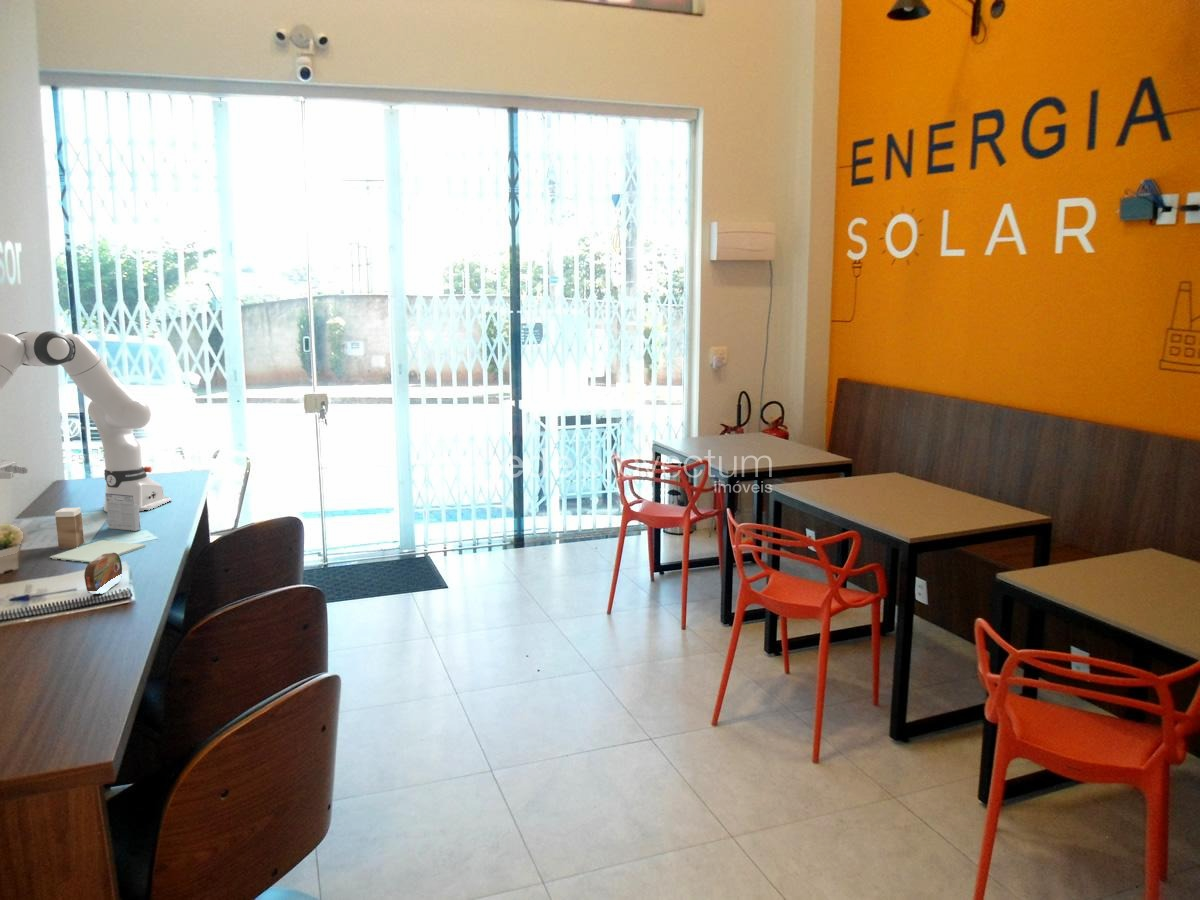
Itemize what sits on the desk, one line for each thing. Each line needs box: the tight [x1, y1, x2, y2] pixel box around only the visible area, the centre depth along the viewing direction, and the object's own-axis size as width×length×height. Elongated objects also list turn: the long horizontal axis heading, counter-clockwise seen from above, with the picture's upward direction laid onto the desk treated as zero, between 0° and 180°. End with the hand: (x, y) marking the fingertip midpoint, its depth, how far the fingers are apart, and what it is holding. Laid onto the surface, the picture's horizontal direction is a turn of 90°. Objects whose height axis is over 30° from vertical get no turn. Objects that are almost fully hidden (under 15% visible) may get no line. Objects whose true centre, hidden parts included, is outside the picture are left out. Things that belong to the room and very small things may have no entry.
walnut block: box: [54, 507, 85, 549], centre depth 263 cm, size 5×5×11 cm
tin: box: [83, 553, 123, 592], centre depth 225 cm, size 15×3×8 cm, turn 5°
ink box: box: [104, 492, 141, 532], centre depth 281 cm, size 12×2×12 cm, turn 71°
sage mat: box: [49, 539, 146, 563], centre depth 257 cm, size 18×16×1 cm
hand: (19, 472), depth 258 cm, fingers open, 8 cm apart
